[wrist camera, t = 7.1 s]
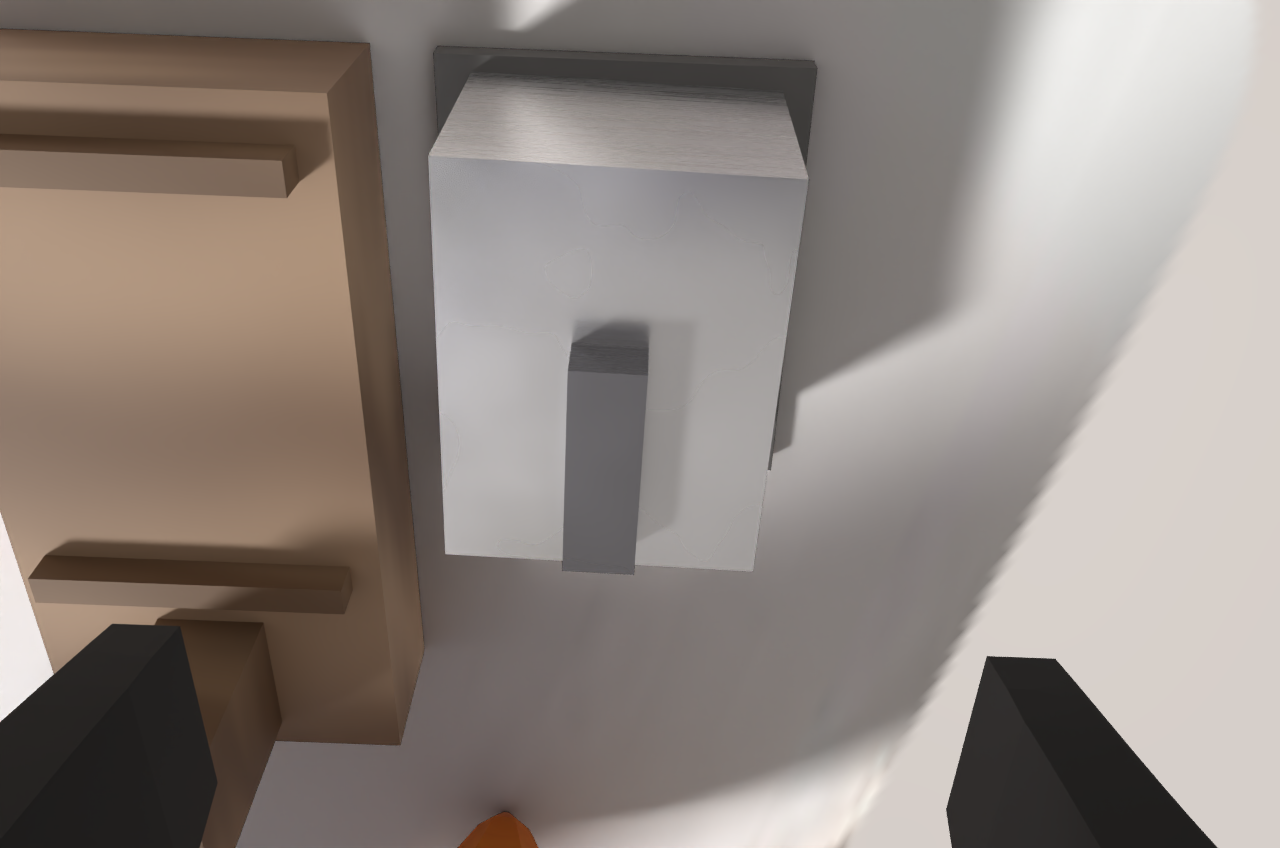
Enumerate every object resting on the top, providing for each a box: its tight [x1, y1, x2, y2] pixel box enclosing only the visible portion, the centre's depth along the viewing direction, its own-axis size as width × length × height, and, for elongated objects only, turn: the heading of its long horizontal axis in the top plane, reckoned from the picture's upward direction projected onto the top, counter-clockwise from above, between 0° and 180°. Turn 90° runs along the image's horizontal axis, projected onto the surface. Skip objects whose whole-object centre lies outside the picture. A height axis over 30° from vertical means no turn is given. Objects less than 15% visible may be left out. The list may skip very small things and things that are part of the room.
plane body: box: [0, 29, 424, 848], centre depth 17 cm, size 12×6×6 cm, turn 178°
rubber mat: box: [433, 46, 817, 470], centre depth 18 cm, size 7×6×1 cm
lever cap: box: [428, 71, 809, 575], centre depth 16 cm, size 6×4×4 cm
